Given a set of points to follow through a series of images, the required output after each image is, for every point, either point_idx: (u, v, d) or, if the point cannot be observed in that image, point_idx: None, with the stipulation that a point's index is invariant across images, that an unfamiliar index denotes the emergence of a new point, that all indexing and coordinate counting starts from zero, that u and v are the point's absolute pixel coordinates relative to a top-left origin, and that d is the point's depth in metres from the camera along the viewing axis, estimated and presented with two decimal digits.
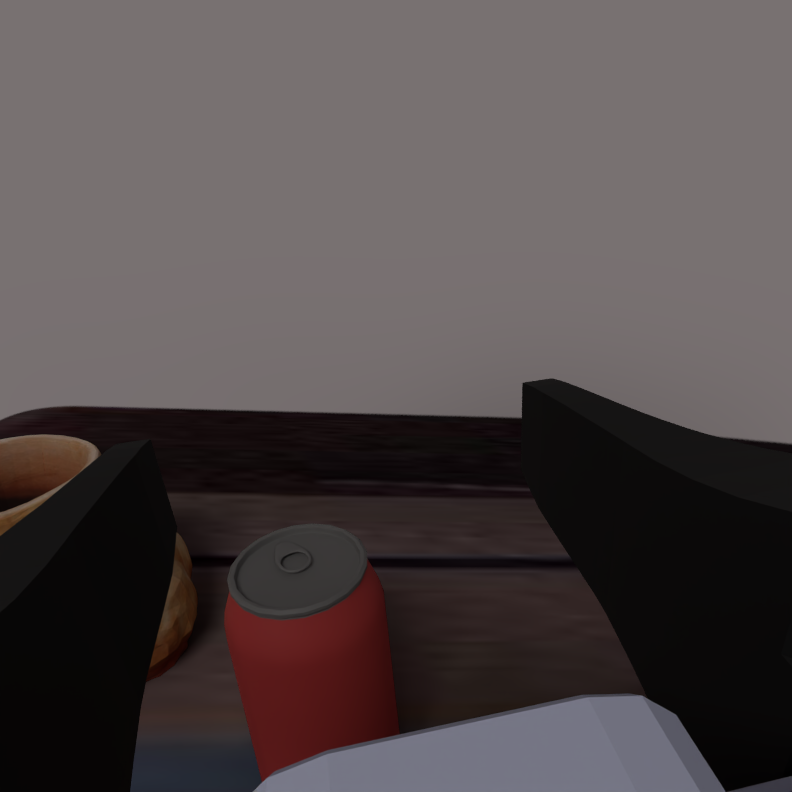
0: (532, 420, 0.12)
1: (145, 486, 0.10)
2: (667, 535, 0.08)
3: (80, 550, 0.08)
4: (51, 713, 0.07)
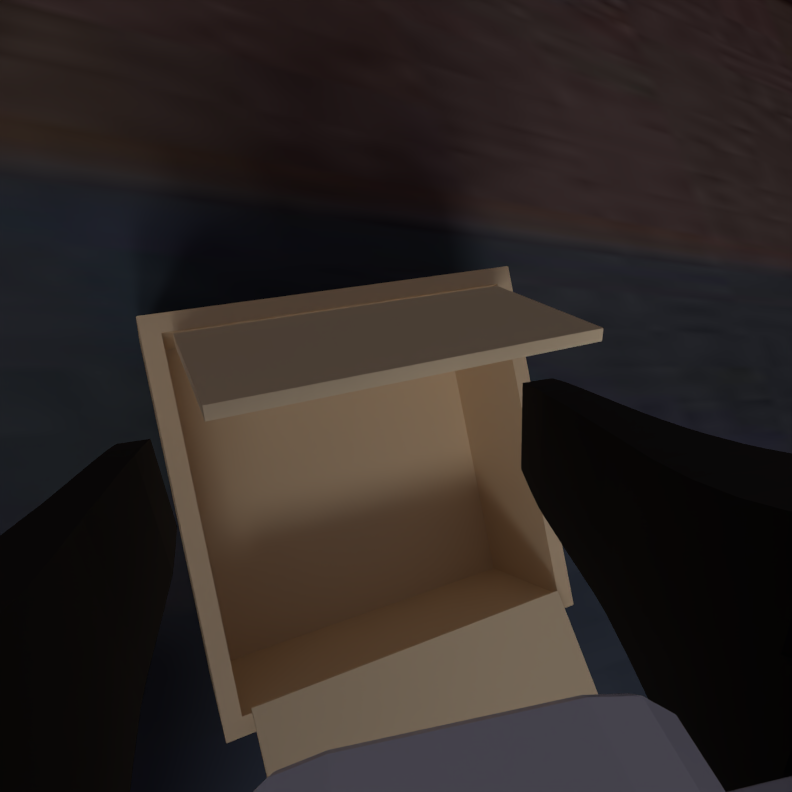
0: (531, 420, 0.12)
1: (145, 486, 0.10)
2: (667, 535, 0.08)
3: (80, 550, 0.08)
4: (51, 713, 0.07)
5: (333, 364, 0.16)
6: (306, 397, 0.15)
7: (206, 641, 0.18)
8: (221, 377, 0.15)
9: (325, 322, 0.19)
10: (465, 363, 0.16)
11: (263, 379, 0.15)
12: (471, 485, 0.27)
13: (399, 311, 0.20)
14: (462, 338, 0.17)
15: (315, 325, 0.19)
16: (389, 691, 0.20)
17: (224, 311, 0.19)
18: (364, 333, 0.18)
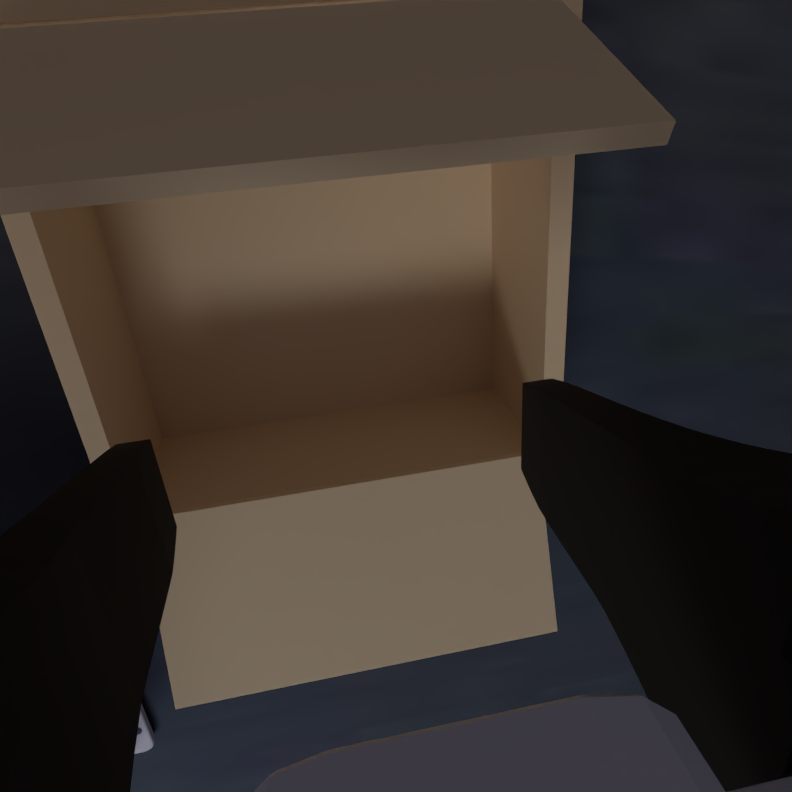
0: (531, 420, 0.12)
1: (145, 486, 0.10)
2: (667, 535, 0.08)
3: (80, 550, 0.08)
4: (51, 713, 0.07)
5: (150, 136, 0.09)
6: (77, 201, 0.09)
7: (85, 446, 0.16)
8: None
9: (213, 38, 0.11)
10: (381, 165, 0.09)
11: (19, 154, 0.09)
12: (483, 288, 0.21)
13: (347, 28, 0.12)
14: (402, 109, 0.10)
15: (192, 41, 0.11)
16: (298, 528, 0.17)
17: None
18: (253, 72, 0.10)
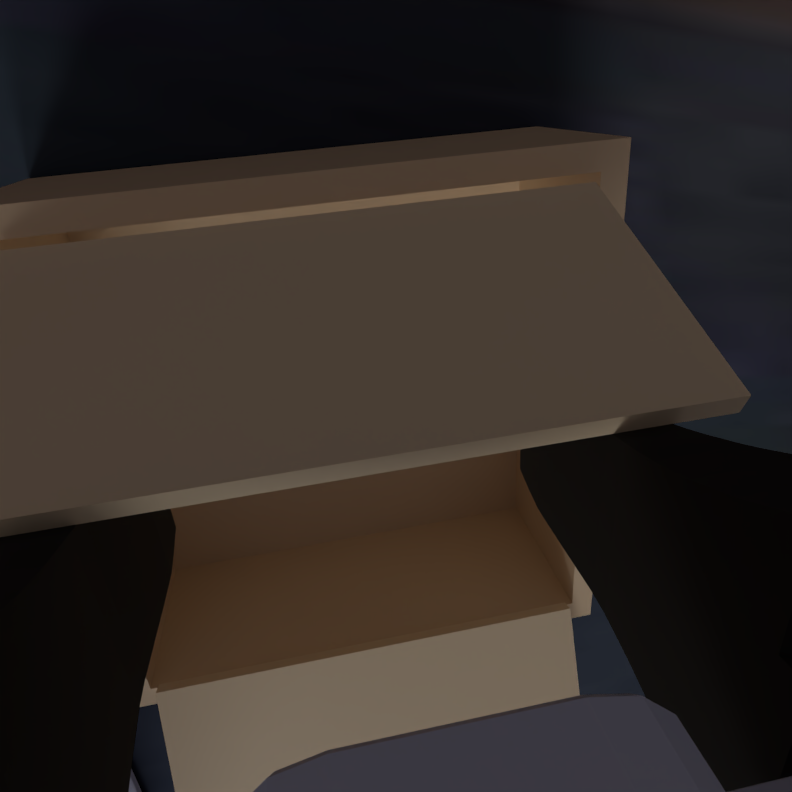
0: None
1: None
2: (665, 535, 0.08)
3: (78, 550, 0.08)
4: (49, 713, 0.07)
5: (180, 427, 0.08)
6: (100, 516, 0.08)
7: None
8: None
9: (241, 262, 0.11)
10: (432, 458, 0.08)
11: (36, 457, 0.08)
12: None
13: (383, 246, 0.11)
14: (452, 380, 0.09)
15: (219, 269, 0.10)
16: (322, 695, 0.17)
17: (82, 209, 0.11)
18: (287, 318, 0.10)
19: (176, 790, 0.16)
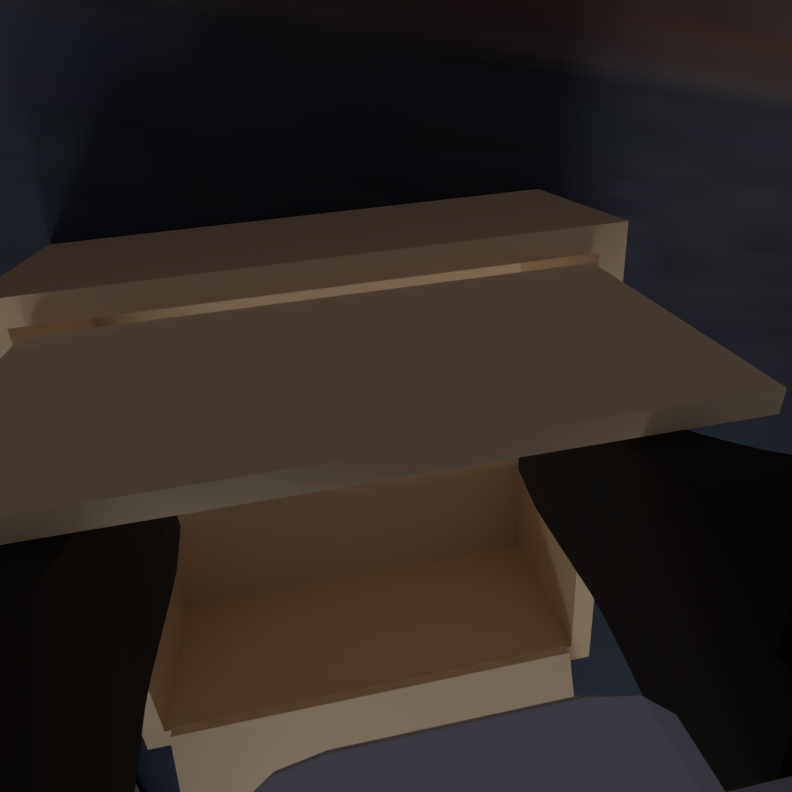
0: None
1: None
2: (663, 535, 0.08)
3: (85, 549, 0.08)
4: (58, 712, 0.07)
5: (174, 441, 0.08)
6: (76, 525, 0.07)
7: None
8: None
9: (253, 329, 0.11)
10: (443, 460, 0.08)
11: (20, 470, 0.08)
12: None
13: (391, 312, 0.11)
14: (461, 393, 0.09)
15: (232, 335, 0.11)
16: (329, 737, 0.17)
17: (107, 297, 0.12)
18: (294, 361, 0.10)
19: None
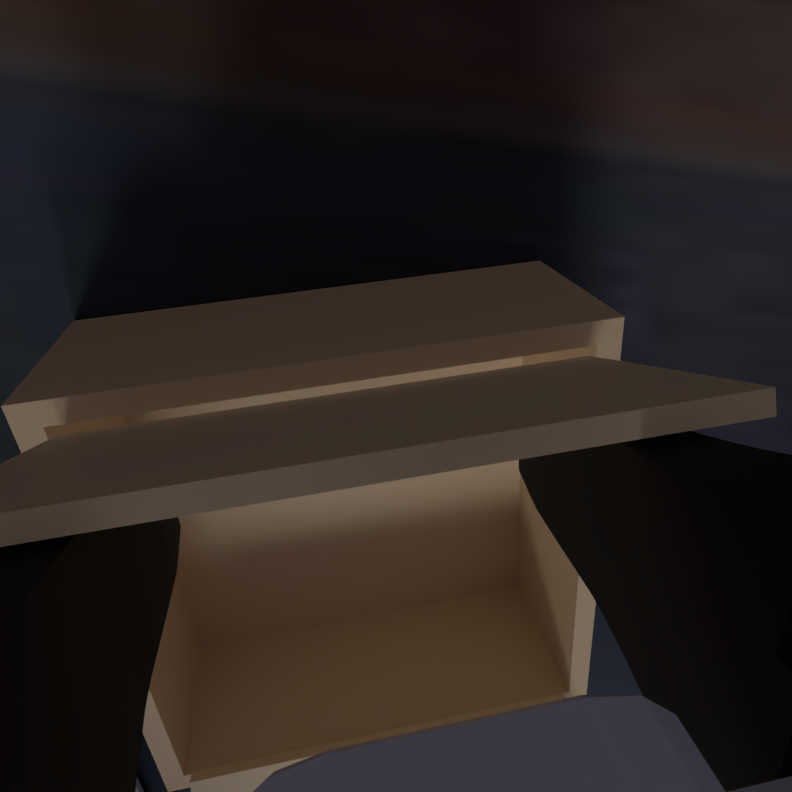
0: None
1: None
2: (663, 535, 0.08)
3: (86, 549, 0.08)
4: (58, 712, 0.07)
5: (184, 464, 0.08)
6: (80, 525, 0.07)
7: None
8: None
9: (270, 412, 0.12)
10: (441, 460, 0.08)
11: (36, 490, 0.08)
12: (511, 506, 0.22)
13: (399, 393, 0.12)
14: (459, 419, 0.09)
15: (250, 416, 0.12)
16: None
17: (136, 397, 0.13)
18: (305, 421, 0.10)
19: None
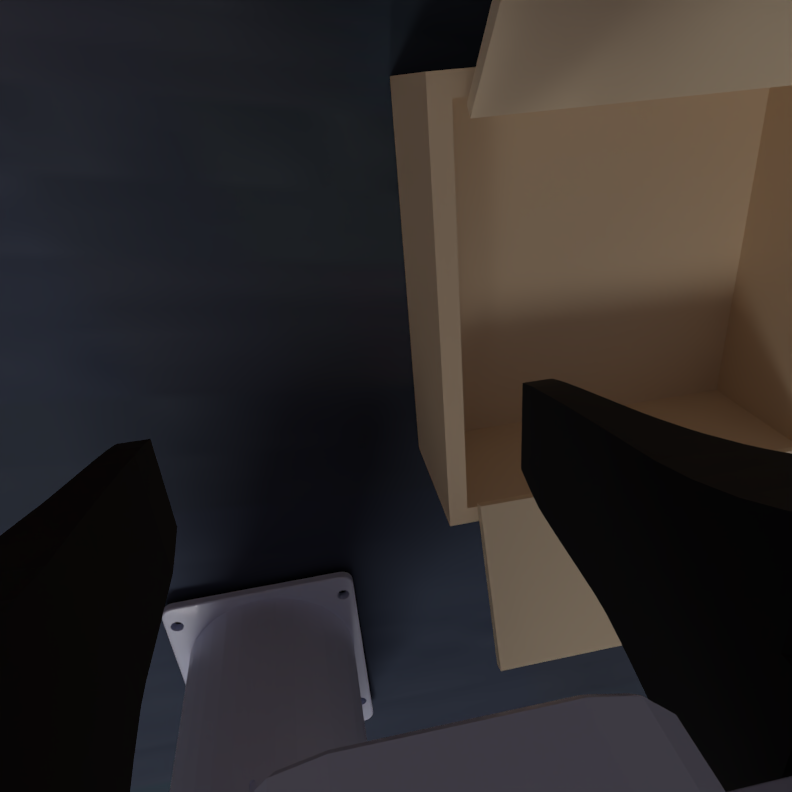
0: (531, 420, 0.12)
1: (145, 486, 0.10)
2: (667, 535, 0.08)
3: (80, 550, 0.08)
4: (51, 713, 0.07)
5: None
6: None
7: (447, 443, 0.19)
8: None
9: None
10: None
11: None
12: (725, 300, 0.24)
13: None
14: None
15: None
16: None
17: None
18: None
19: (491, 590, 0.20)
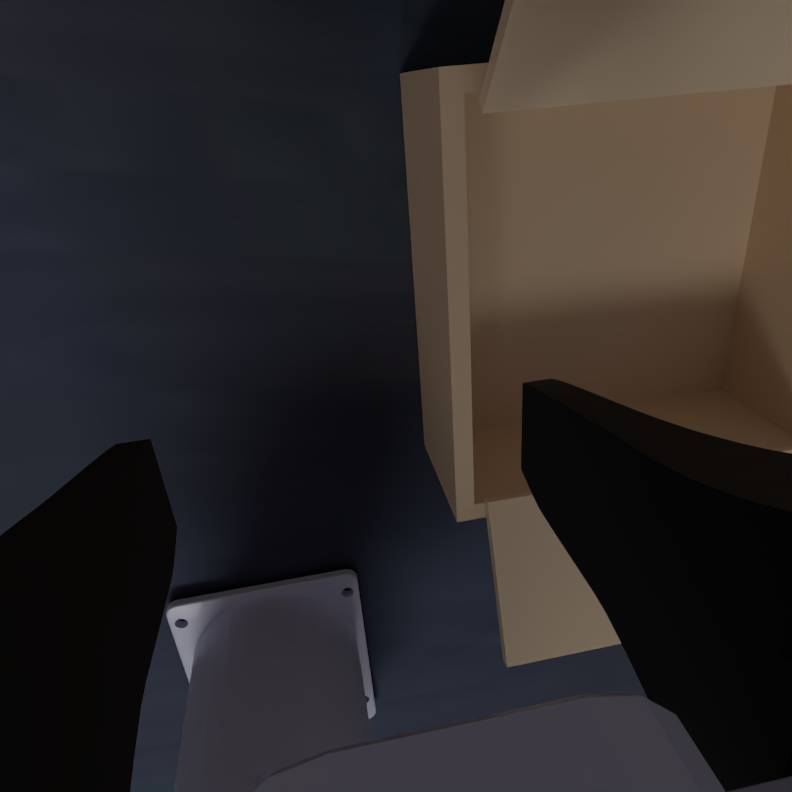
0: (531, 420, 0.12)
1: (145, 486, 0.10)
2: (667, 535, 0.08)
3: (80, 550, 0.08)
4: (51, 713, 0.07)
5: None
6: None
7: (455, 439, 0.19)
8: None
9: None
10: None
11: None
12: (730, 300, 0.24)
13: None
14: None
15: None
16: None
17: None
18: None
19: (498, 586, 0.20)
